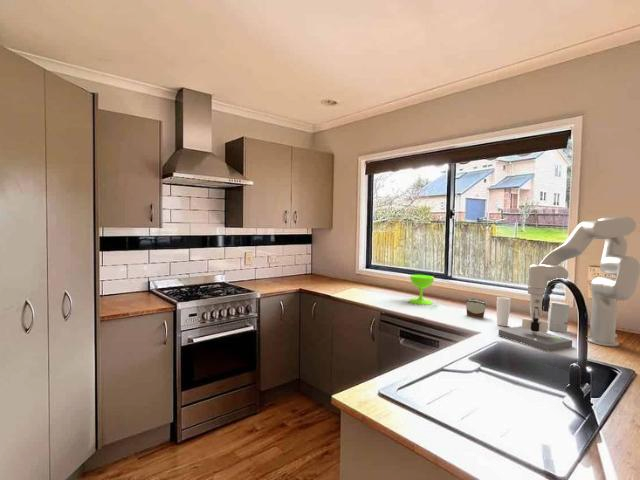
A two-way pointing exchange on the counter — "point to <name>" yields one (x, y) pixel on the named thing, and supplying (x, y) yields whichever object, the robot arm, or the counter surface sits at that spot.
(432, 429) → the counter surface
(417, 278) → the wineglass
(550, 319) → the skincare box
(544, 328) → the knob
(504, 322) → the drinking glass
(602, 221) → the robot arm
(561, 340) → the dial plate
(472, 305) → the food container
